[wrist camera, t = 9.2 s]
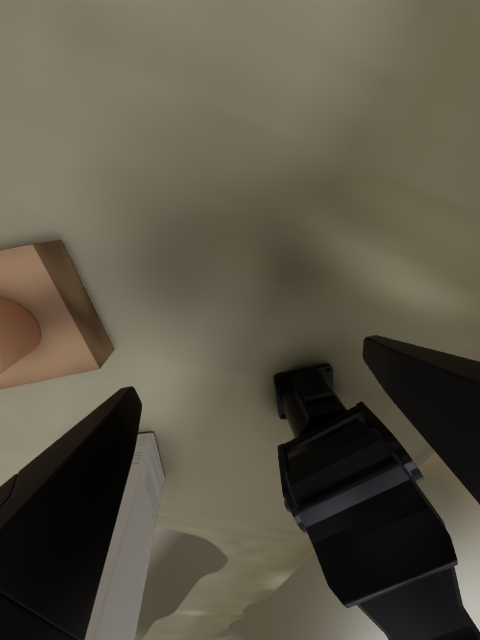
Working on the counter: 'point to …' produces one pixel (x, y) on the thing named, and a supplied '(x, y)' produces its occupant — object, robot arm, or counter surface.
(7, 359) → the terracotta cylinder
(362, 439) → the robot arm
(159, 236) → the counter surface
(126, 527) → the supplement box
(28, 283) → the tan flat block
